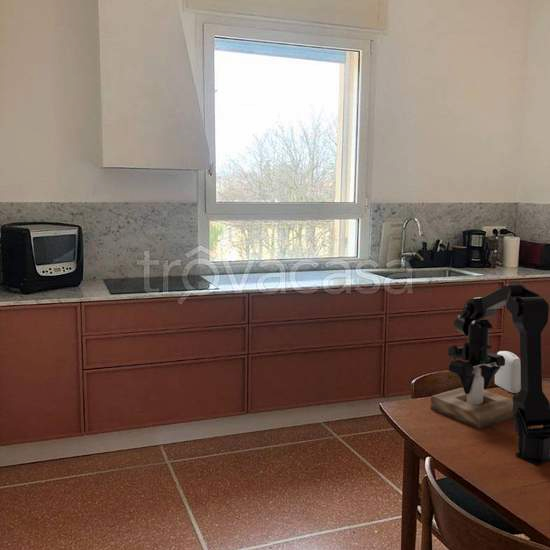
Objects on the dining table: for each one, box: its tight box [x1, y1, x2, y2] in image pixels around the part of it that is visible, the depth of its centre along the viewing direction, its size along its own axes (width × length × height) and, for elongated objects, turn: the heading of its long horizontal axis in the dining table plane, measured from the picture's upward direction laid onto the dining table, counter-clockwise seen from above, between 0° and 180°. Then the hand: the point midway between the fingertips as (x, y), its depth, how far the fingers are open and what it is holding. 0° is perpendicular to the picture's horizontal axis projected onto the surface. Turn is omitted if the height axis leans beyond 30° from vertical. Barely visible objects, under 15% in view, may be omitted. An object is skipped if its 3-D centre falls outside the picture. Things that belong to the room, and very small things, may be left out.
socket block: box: [430, 386, 514, 429], centre depth 178 cm, size 18×18×4 cm
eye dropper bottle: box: [467, 366, 485, 405], centre depth 177 cm, size 4×6×12 cm
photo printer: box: [494, 350, 521, 394], centre depth 198 cm, size 10×4×12 cm, turn 13°
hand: (475, 391), depth 177 cm, fingers closed on eye dropper bottle, 7 cm apart
